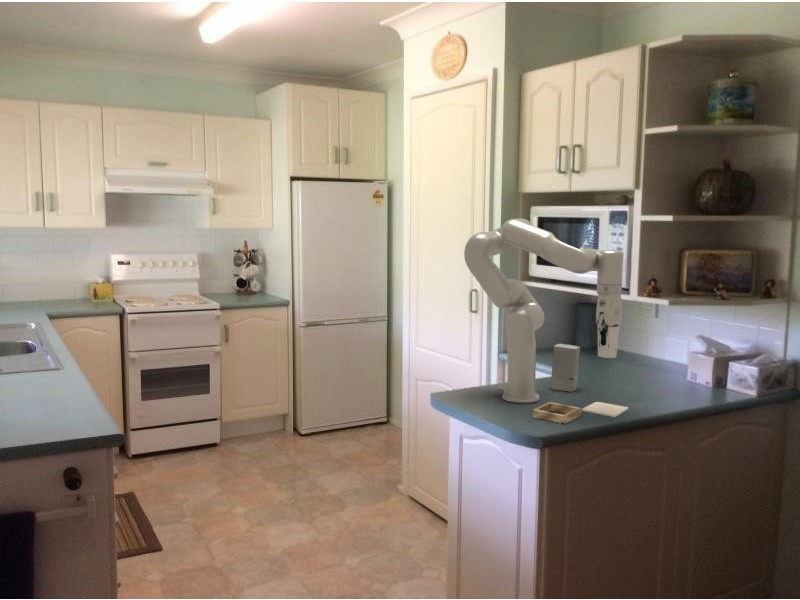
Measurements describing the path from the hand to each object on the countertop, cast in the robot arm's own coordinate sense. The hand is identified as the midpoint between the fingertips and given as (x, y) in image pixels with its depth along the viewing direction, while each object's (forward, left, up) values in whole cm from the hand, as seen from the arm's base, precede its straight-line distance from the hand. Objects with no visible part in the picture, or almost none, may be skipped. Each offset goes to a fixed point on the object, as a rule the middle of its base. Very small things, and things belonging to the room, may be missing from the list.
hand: (607, 345), depth 228 cm
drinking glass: (0, 0, -4) cm, 4 cm away
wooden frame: (-9, -16, -21) cm, 28 cm away
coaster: (0, 0, -21) cm, 21 cm away
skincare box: (-22, +16, -21) cm, 35 cm away
